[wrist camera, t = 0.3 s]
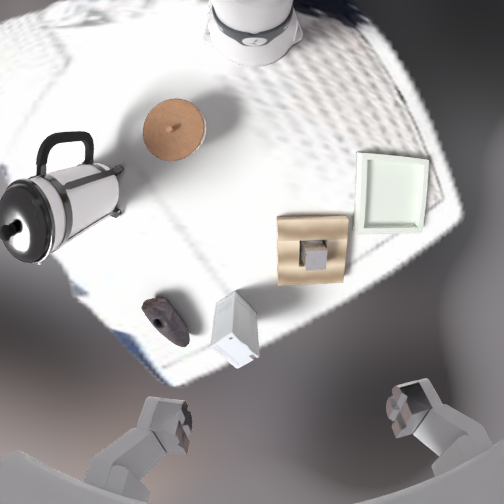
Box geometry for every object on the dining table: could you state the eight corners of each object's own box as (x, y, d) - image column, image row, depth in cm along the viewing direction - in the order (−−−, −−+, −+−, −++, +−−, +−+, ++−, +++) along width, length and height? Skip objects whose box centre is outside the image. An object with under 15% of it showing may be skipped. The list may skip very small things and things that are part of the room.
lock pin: (301, 239, 56) (306, 251, 50) (320, 239, 56) (327, 250, 50) (301, 257, 57) (305, 270, 52) (319, 257, 57) (326, 269, 52)
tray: (356, 152, 48) (361, 153, 46) (421, 158, 48) (428, 159, 45) (353, 229, 55) (357, 234, 52) (415, 228, 54) (422, 233, 51)
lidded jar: (170, 97, 45) (154, 89, 36) (220, 115, 46) (213, 109, 38) (149, 147, 49) (129, 149, 40) (198, 166, 50) (186, 171, 42)
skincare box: (215, 302, 62) (206, 345, 48) (236, 288, 60) (231, 331, 47) (239, 325, 64) (235, 370, 50) (259, 313, 63) (260, 358, 49)
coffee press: (147, 194, 52) (55, 251, 25) (97, 233, 56) (11, 301, 28) (106, 128, 47) (-3, 135, 19) (61, 173, 50) (-38, 208, 22)
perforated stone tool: (198, 333, 66) (193, 352, 59) (181, 339, 67) (175, 358, 60) (163, 286, 61) (153, 302, 54) (146, 294, 62) (136, 311, 55)
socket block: (276, 216, 54) (277, 220, 52) (345, 215, 54) (348, 219, 51) (277, 280, 59) (278, 285, 57) (340, 277, 59) (343, 282, 57)
